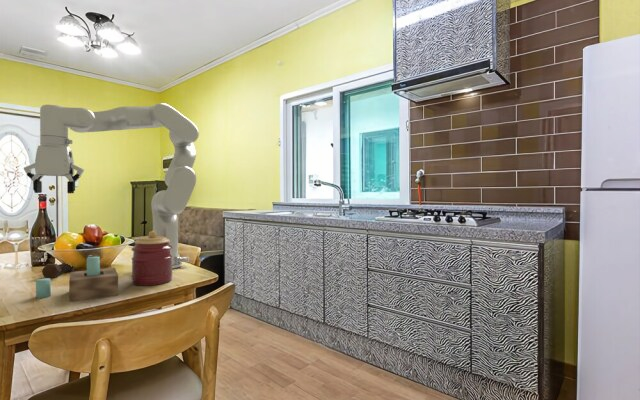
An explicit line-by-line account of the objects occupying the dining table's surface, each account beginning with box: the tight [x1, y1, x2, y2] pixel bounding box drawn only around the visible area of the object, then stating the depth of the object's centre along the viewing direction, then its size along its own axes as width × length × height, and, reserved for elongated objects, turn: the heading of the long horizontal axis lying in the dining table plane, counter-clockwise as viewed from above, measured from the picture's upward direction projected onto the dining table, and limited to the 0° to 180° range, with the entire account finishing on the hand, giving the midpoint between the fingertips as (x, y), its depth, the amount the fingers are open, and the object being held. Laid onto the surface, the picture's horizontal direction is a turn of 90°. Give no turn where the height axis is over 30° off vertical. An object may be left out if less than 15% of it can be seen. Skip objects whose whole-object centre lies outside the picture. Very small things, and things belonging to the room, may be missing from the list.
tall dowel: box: [86, 256, 101, 276], centre depth 107 cm, size 3×3×11 cm
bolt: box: [41, 262, 76, 280], centre depth 131 cm, size 6×5×15 cm
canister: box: [130, 230, 173, 286], centre depth 122 cm, size 13×13×18 cm
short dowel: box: [35, 277, 52, 299], centre depth 103 cm, size 3×3×5 cm
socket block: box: [68, 267, 119, 303], centre depth 107 cm, size 12×12×6 cm
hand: (54, 193), depth 119 cm, fingers open, 9 cm apart
